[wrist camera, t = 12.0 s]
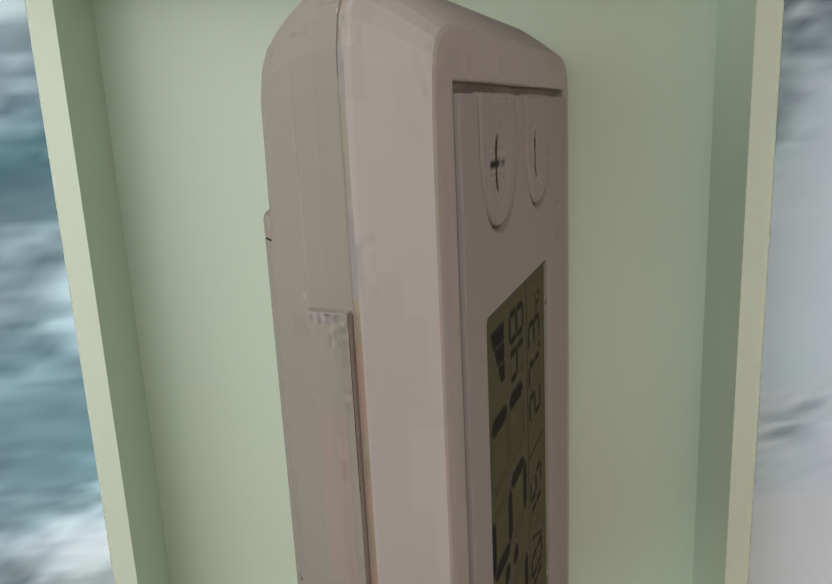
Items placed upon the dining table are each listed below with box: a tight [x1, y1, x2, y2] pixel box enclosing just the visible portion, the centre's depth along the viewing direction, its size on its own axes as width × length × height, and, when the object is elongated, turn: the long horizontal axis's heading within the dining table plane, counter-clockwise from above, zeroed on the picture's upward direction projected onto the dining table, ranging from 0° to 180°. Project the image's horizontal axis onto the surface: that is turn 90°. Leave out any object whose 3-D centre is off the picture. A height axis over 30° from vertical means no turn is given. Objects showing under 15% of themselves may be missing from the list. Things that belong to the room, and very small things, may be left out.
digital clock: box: [261, 0, 569, 584], centre depth 15 cm, size 16×9×11 cm, turn 171°
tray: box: [25, 0, 784, 584], centre depth 20 cm, size 17×21×3 cm
